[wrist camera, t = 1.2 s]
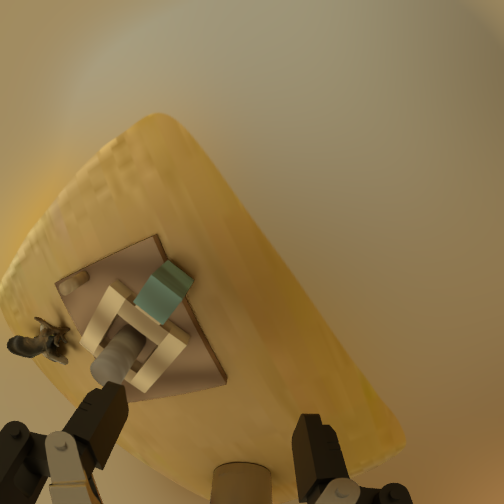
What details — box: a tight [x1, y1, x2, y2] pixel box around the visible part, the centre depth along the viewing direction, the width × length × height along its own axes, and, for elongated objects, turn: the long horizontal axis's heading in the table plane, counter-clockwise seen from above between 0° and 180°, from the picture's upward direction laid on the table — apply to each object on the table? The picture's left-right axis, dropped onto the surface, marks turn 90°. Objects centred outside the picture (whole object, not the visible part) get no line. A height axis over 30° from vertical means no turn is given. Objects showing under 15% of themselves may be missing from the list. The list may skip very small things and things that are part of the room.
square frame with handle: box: [79, 260, 194, 393], centre depth 23 cm, size 14×9×4 cm, turn 141°
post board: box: [54, 234, 227, 403], centre depth 23 cm, size 17×14×8 cm
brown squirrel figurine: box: [7, 317, 70, 365], centre depth 25 cm, size 8×7×9 cm
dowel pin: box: [59, 271, 90, 296], centre depth 23 cm, size 1×1×4 cm
